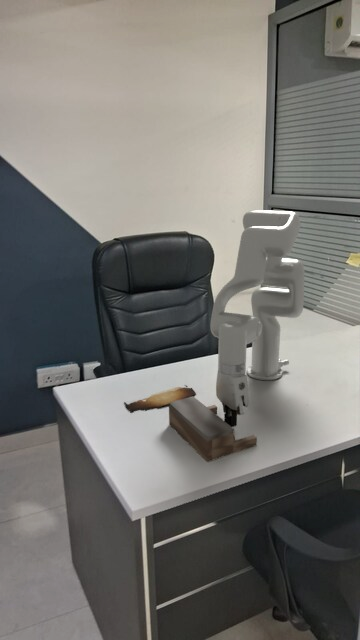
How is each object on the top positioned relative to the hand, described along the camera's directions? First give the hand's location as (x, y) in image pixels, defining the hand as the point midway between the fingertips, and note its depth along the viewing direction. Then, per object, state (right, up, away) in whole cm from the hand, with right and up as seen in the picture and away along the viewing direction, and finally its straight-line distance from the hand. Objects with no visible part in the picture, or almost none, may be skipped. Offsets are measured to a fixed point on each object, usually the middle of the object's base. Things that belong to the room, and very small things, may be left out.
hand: (230, 425), depth 137 cm
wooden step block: (-6, -2, -2) cm, 6 cm away
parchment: (-20, +4, +19) cm, 27 cm away
